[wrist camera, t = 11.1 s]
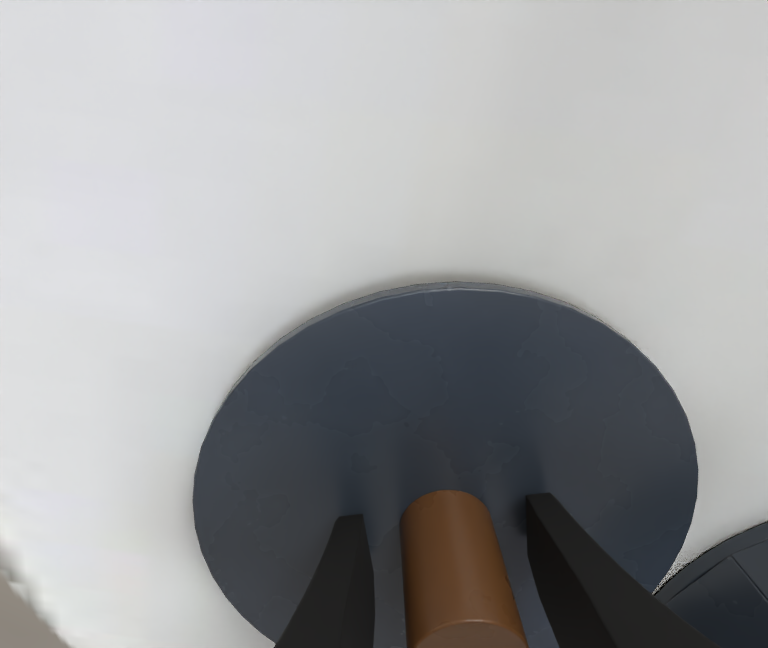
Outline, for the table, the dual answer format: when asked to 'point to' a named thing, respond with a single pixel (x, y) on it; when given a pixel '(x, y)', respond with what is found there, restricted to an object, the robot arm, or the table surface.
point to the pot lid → (441, 460)
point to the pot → (726, 591)
